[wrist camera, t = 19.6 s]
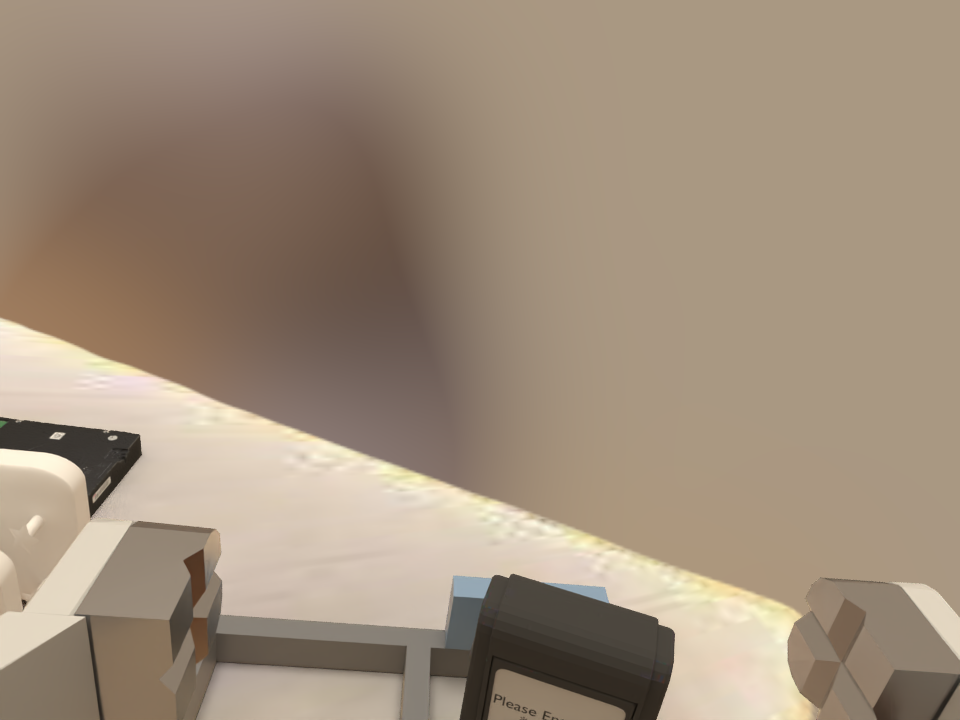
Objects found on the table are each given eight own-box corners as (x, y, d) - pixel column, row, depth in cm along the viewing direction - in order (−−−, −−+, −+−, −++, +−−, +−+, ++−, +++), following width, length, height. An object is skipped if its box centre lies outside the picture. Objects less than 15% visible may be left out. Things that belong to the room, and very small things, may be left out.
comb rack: (102, 884, 33) (86, 790, 30) (201, 637, 47) (197, 555, 44) (681, 903, 36) (719, 819, 33) (618, 665, 49) (641, 590, 46)
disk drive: (144, 458, 64) (-25, 438, 63) (142, 432, 63) (-30, 411, 62) (87, 531, 55) (-112, 509, 54) (84, 502, 54) (-119, 479, 53)
